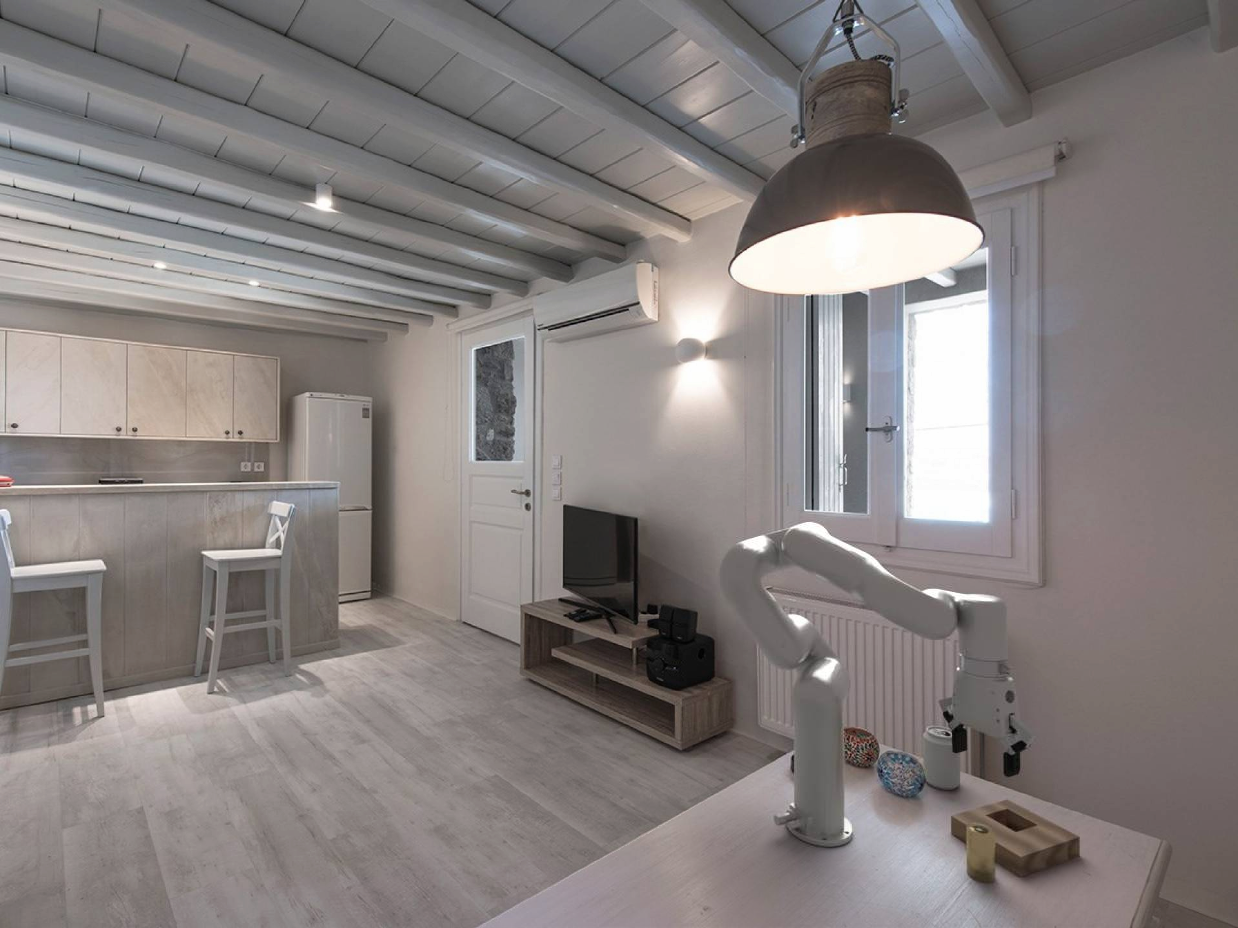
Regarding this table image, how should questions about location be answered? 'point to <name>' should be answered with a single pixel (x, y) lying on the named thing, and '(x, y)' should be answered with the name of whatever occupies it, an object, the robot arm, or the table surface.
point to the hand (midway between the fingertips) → (984, 762)
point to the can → (940, 758)
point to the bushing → (981, 853)
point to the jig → (1020, 837)
